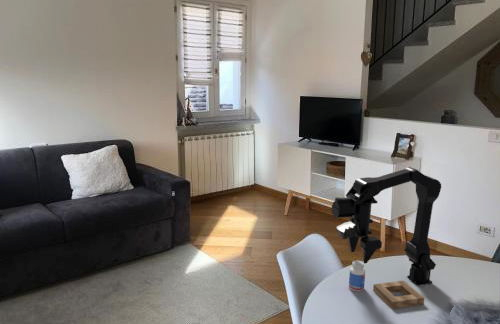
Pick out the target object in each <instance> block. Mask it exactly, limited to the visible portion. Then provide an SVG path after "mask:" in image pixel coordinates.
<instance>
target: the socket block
mask: <svg viewBox="0 0 500 324" xmlns="http://www.w3.org/2000/svg"><path fill="white" fill-rule="evenodd" d="M372 287H373V289H372V291H373V292H374V293H375V295H377V296H378V297H379V298H380V299H381V300H382V301H383V302H385V304H386V305H388V307H389V308H390V309H392V310H393V309H400V308H409V307H416V306H423V305H425V297H424V296H423V295H422V294H420V293H419V292H418V291H417V290H415V289H414V288H413V287H412V286H411V285H410V284H408V283H407V282H406V281H405V280H398V281H397V280H396V281H391V282H381V283H375V284H373V286H372ZM400 292H401V294H403V295H400V296H395V295H394V293H400Z"/></svg>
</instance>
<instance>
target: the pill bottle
mask: <svg viewBox="0 0 500 324" xmlns="http://www.w3.org/2000/svg"><path fill="white" fill-rule="evenodd" d="M365 279H366V269H365V263H364V261H361V260H352V263H351V267H350V268H349V277H348V289H349V290H351V291H354V292H359V293H360V292H363V290H365Z"/></svg>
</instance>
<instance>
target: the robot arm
mask: <svg viewBox="0 0 500 324" xmlns="http://www.w3.org/2000/svg"><path fill="white" fill-rule="evenodd" d="M409 182H411V183H413V184H415V193H416V197H417V199H418V200H417V209H416V216H415V222H414V229H413V237H412V238H411V239H410V240H406V242H405V248H404V252H405V255H406V256H407V258H408V261H410V262H411V265H410V268H409V275H407V277H406V278H408V279H409V280H410V281H412V283H414V284H415V285H418V286H421V285H427V284H429V285H430V284H433V281H432V280H430V279H431V271H432V270H434V269H435V268H436V265H437V264H436V263H435V262H434V261H433V259H432V258H431V247H430V245H429V241H428V240H429V239H428V238H429V231H430V227H431V226H430V225H431V219H432V218H431V217H432V213H433V208H434V207H433V206H434V203H435V202H436V201H437V199H438V198H439V196H440V193H441V190H442V183H441V182H440V181H439V179H436V178H433V177H431V176H429V175H426V174H423V173H422V172H420V170H418V169H416V168H413V167H412V166H409V167H405V168H403V169H400V170H398V171H397V170H396V171H394V172H391V173H387V174H384V175H380V176H375V177H361V178H357V179H355V180H354V182H353V184H352V186H351V188H350V189H349V190H348V191H347V193H346V194H345V197H335V199H334V201H333V202H332V205H331V213H332V216H333V218H334V219H341V218H349V221H343V222H342V223H341V224H339V225H337V226H336V230H337V235H338V236H339V237H340V238H342V240H348V244H349V245H348V246H349V249H350V252H351V253H355V251H356V249H357V245H358V242H359V244H360V245H359V247H360V248H361V249H362V258H363V259H362V262H363V263H364V264H367V263H368V262H369V261H370V260H371V257H372V256H373V255H374V254H375V252H376V251H377V250H379V249H381V248H382V246H383V241H382V240H381V239H380V238H378V237H377V236H375V235H372V234H373V231H372V230H371V229H370V227H371V224H373V223H374V220H373V219H372V218H371V215H372V213H371V212H372V205H373V204H378V200H376V198H375V197H376V196H379V194H380V193H381V192H382V191H384V190H387V189H390V188H393V187H397V186H401V185H403V184H406V183H409ZM357 195H358V196H357ZM369 235H372V236H369Z"/></svg>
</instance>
